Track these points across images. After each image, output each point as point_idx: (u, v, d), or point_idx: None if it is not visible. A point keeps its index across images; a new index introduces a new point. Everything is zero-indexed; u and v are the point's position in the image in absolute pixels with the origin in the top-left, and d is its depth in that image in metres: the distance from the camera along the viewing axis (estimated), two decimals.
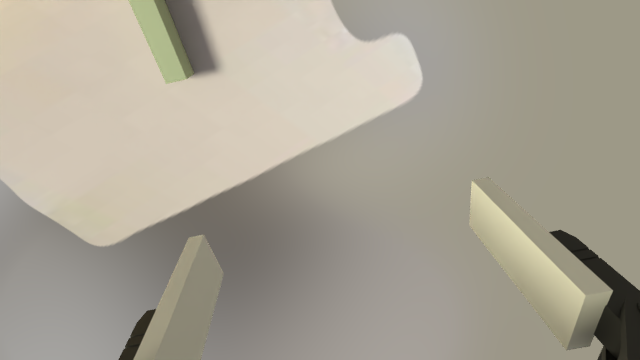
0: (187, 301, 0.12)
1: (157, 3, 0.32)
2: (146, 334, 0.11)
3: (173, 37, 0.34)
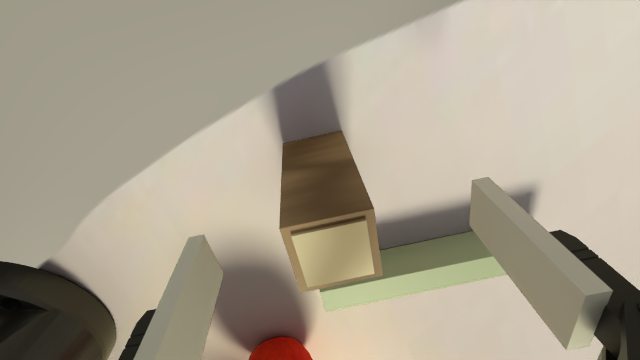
0: (187, 301, 0.12)
1: (452, 259, 0.24)
2: (146, 334, 0.11)
3: None
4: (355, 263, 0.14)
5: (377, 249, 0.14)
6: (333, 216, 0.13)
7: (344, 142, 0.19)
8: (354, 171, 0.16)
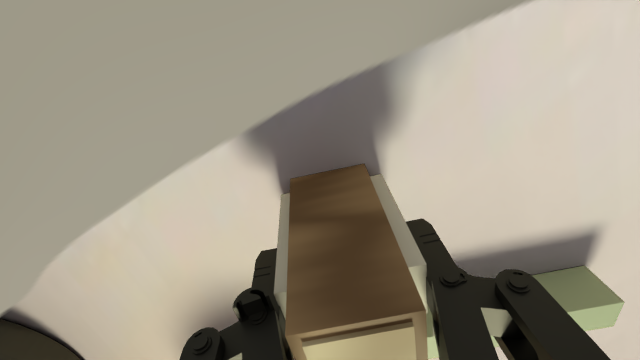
0: None
1: None
2: (277, 262, 0.12)
3: None
4: None
5: (425, 357, 0.10)
6: (364, 319, 0.09)
7: (369, 182, 0.15)
8: (388, 233, 0.11)
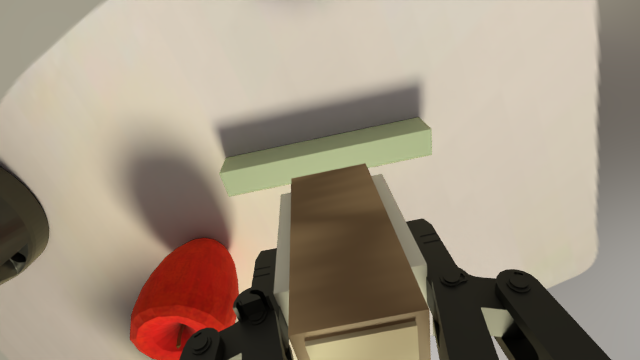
0: None
1: (340, 145, 0.26)
2: (277, 263, 0.12)
3: (377, 134, 0.27)
4: None
5: (427, 356, 0.10)
6: (367, 318, 0.09)
7: (370, 181, 0.15)
8: (390, 232, 0.11)
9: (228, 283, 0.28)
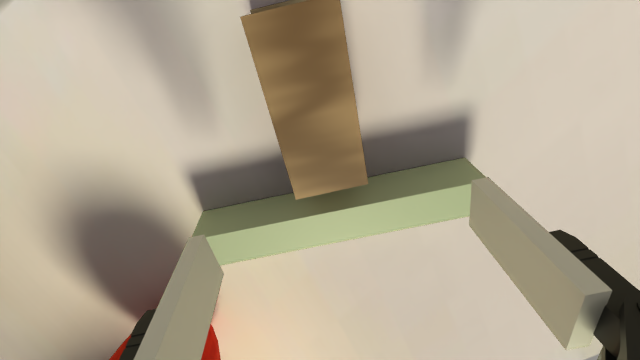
0: (187, 301, 0.12)
1: (360, 200, 0.19)
2: (146, 334, 0.11)
3: (409, 184, 0.19)
4: None
5: None
6: None
7: None
8: None
9: None
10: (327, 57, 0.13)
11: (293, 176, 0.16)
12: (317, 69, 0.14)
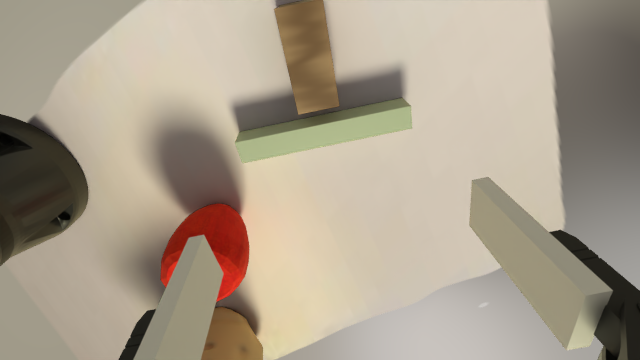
0: (187, 301, 0.12)
1: (335, 119, 0.31)
2: (146, 334, 0.11)
3: (366, 111, 0.32)
4: None
5: None
6: None
7: None
8: None
9: (240, 236, 0.33)
10: (316, 30, 0.26)
11: (297, 99, 0.29)
12: (311, 37, 0.26)
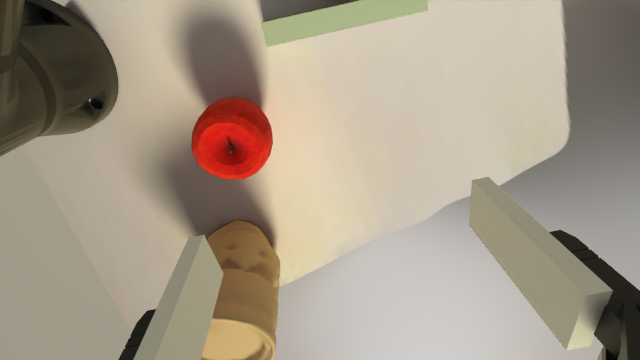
0: (187, 301, 0.12)
1: (356, 1, 0.33)
2: (146, 334, 0.11)
3: None
4: None
5: None
6: None
7: None
8: None
9: (265, 118, 0.35)
10: None
11: None
12: None
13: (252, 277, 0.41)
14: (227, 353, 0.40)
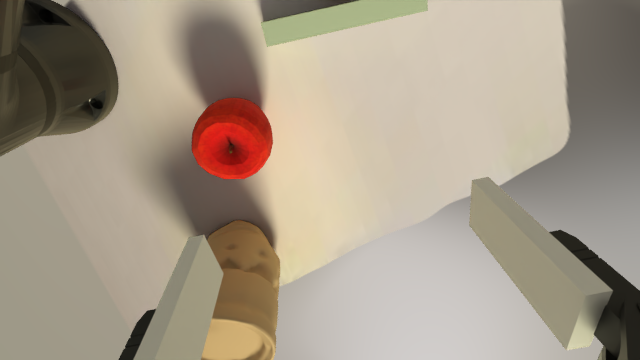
0: (187, 301, 0.12)
1: (356, 1, 0.33)
2: (146, 334, 0.11)
3: None
4: None
5: None
6: None
7: None
8: None
9: (265, 118, 0.35)
10: None
11: None
12: None
13: (252, 277, 0.41)
14: (227, 353, 0.40)
